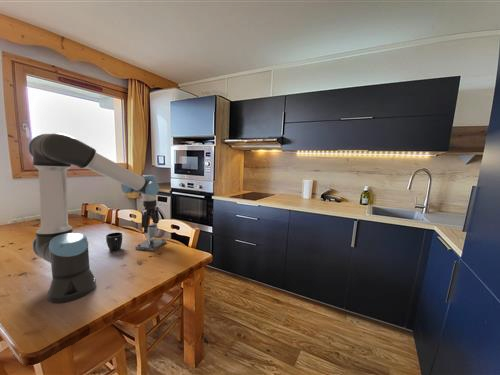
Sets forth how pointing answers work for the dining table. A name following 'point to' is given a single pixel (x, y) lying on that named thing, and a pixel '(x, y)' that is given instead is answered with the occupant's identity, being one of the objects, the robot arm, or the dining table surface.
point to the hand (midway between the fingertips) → (151, 235)
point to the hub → (152, 231)
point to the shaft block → (150, 244)
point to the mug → (114, 241)
